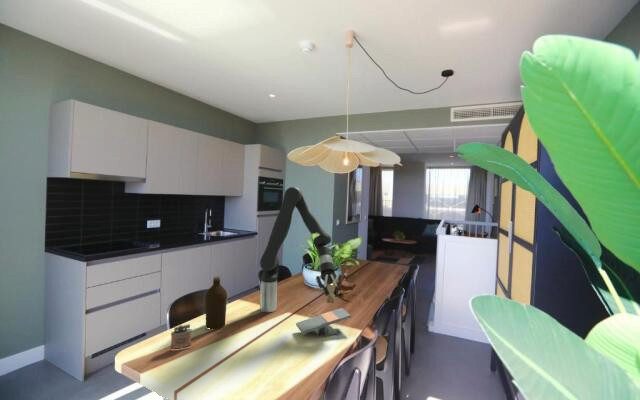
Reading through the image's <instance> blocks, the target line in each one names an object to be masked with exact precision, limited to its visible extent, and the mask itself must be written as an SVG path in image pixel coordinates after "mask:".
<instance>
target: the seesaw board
mask: <svg viewBox="0 0 640 400" xmlns="http://www.w3.org/2000/svg"><path fill="white" fill-rule="evenodd" d="M351 317H352V316H351V314H350V313H349V312H347V311H346V310H345V309H344V308H343V307H340V308H337V309H334V310H331V311H330V310H329V311H328V312H327V311H326V312H325V313H321V314H319V315H315V316H313V317H310V318H307V319H303V320H301V321H298V322H295V325H296V327H297V328H298V330H299V332H301V334H302V335H305V334H307V333H311V332H313V331H314V330H317V329H319V328H322V327H325V326H328V325H330V326H331V325H333V324H337V323H338V322H342V321H345V320H347V319H350V318H351ZM351 319H352V318H351Z"/></svg>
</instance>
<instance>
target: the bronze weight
mask: <svg viewBox="0 0 640 400" xmlns="http://www.w3.org/2000/svg"><path fill="white" fill-rule="evenodd" d="M326 287H327V292H328V295H327V296H326V295H325V296H326V297H325V302H326V303H327V304H334V303H335V302H336V295H335V283H327V284H326Z"/></svg>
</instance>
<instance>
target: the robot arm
mask: <svg viewBox="0 0 640 400" xmlns="http://www.w3.org/2000/svg"><path fill="white" fill-rule="evenodd" d="M283 195H284V196H283V199H282V202H281V207H280V209H279V212H278V214H277V216H276V218H275V221H274V224H273V227H272V229H271V233H270V236H269V238H268V242H267V244H266V248H265V249H264V252H263V254H262V256H261V258H260V260H259V264H260V268H261V269H262V270H263V273H262V274H261V280H260V281H261V283H260V284H261V286H260V293H259V309H260V312H261V313H272V312H275V311H276V310H277V299H278V296H277V295H278V292H277V291H278V277H279V269H280V268H279V266H280V259H279V256H278V252H279V251H280V248H281V247H282V245H283V243H284V241H285V240H286V239H287V236H288V233H289V231H290V228H291V225H292V219H293V214H294V213H293V212H294V210H295V208H296V209H297V212H298V213H299V215H300V216H301V219H302V221H303V223H304V226H305V227H306V228H307V230H308V232H309V233H310V234H311V235H313V234H319V235H317V236H315V237H314V238H313V239H312V240H313V245H314V247H315V249H316V251H317V255H318V265H319V271H320V275H317V276H316V277H315V281H316V283H317V285H318V287H319V289H323V295H325V296H327V295H328V292H327V287H326V284H327V283H335V296H337V294H338V287H340V284H341V279H342V275H341V274H339V275H337V274H336V271H335V266H334V261H333V258H332V254H331V249H330V248H329V247H328V245H329V244H330V243H331V242H332V237H331V235H330V234H329V233H328V232H327V231H326V230H325V229H324V228H323V227H322V226H321V225H320V222H318V220H317V219H316V217H315V216H314V214H313V213H312V210H311V209H310V208H309V206H308V204H307V202H306V201H305V198H304V195H303V193H302V191H301V189H300V188H299V187H296V186H290V187H288V188H287V189H286V190H285V192H284V194H283ZM335 278H337V280H338V284H336V281H335ZM321 280H322V281H323V283H322V281H321ZM338 295H339V294H338Z"/></svg>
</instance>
